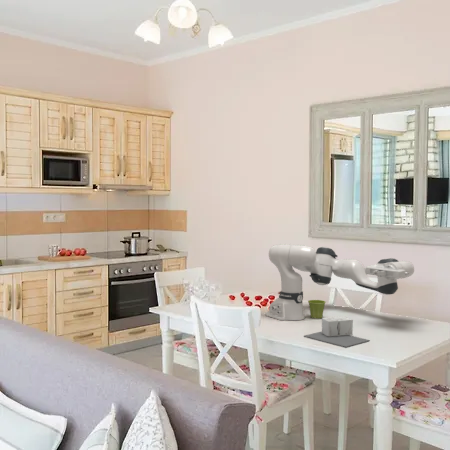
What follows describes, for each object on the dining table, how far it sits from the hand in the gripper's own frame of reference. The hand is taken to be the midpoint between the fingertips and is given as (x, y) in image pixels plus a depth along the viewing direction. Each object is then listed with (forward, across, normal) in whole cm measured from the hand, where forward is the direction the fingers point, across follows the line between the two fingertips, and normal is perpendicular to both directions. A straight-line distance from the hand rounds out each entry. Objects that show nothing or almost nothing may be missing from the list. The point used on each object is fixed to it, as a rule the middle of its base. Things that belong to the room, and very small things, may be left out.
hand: (375, 273), depth 267 cm
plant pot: (+2, +35, -28) cm, 45 cm away
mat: (+30, 0, -27) cm, 40 cm away
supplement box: (+18, +1, -23) cm, 29 cm away
